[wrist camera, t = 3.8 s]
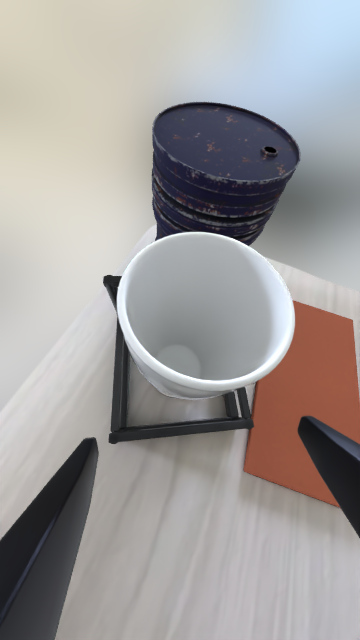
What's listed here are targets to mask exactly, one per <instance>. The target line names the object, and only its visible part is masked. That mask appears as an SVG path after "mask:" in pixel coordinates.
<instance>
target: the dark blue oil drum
mask: <svg viewBox="0 0 360 640" xmlns="http://www.w3.org/2000/svg"><path fill="white" fill-rule="evenodd" d="M152 130H153V131H152V132H153V148H154V152H153V169H152V191H153V202H152V205H153V210H154V215H155V219H156V221H157V237H156V239H155V241H157V240H159V239H161V238H164V237H167V236H170V235H174V234H178V233H185V232H207V233H214V234H219V235H223V236H226V237H229V238H232V239H235V240H237V241H239V242H241V243H243V244H245V245H247V246H249V245H250V244H252V243H253V242H254V241H255V240H256V238H257V237H258V236H259V235H260V234H261V232H262V231H263V229H264V226H265V224H266V222H267V221H268V220H269V218H270V216H271V215H272V213H273V211H274V209H275V208H276V206H277V203H278V201H279V198H280V196H281V194H282V192H283V190H284V188H285V186H286V183H287V182H288V181H289V180H290V178H291V177H292V175H293V173H294V171H295V170H296V168H297V166H298V164H299V161H300V156H301V153H300V149H299V146H298V144H297V143H296V141H295V140H294V138H293V137H292V136H291V135H290V134H289V133H288V132H287V131H286V130H285V129H283V128H282V127H281V126H280V125H278V124H276V123H275V122H273V121H272V120H270V119H268V118H266V117H264V116H261V115H259V114H257V113H255V112H252V111H249V110H246V109H243V108H239V107H236V106H231V105H227V104H221V103H212V102H191V103H183V104H178V105H175V106H172V107H169V108H167V109H165V110H164V111H162V112H161V113H159V115H158V116H157V117H156V118H155V120H154V122H153V129H152Z"/></svg>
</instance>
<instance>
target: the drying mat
mask: <svg viewBox="0 0 360 640" xmlns="http://www.w3.org/2000/svg"><path fill="white" fill-rule="evenodd" d="M292 301H293V300H292ZM293 306H294V312H295V329H294V335H293V339H292V342H291V344H290V347H289V349H288V351H287V353H286V355H285V356H284V358H283V359H282V361H281V362H280V363H279V364H278V365H277V366H276V368H275V369H273V370H272V371H271V372H270V373H269V374H268V375H266V376H265V377H263V378H262V379H260V380H258V381H257V382H256V389H255V395H254V402H253V409H252V416H251V419H253V422H254V428H252V429H250V430H249V437H248V444H247V451H246V458H245V464H244V471H245V472H247V473H249V474H252V475H255V476H257V477H260V478H263V479H265V480H268V481H271V482H273V483H276V484H279V485H281V486H284V487H287V488H289V489H292V490H295V491H297V492H300V493H303V494H305V495H308V496H310V497H313V498H316V499H318V500H321V501H324V502H326V503H329V504H332V505H334V506H337V507H340V506H339V504H338V503H337V501H336V500H335V498H334V496H333V495H332V493H331V492H330V490H329V489H328V487H327V485H326V484H325V482H324V481H323V479H322V477H321V476H320V474H319V472H318V471H317V469H316V467H315V465H314V463H313V461H312V460H311V458H310V456H309V454H308V452H307V450H306V448H305V446H304V444H303V442H302V441H301V439H300V437H299V435H298V431H297V429H298V425H299V422H300V419H301V417H302V416H308V415H310V416H313V417H315V418H316V419H318V420H320V421H321V422H323V423H325V424H327V425H328V426H330V427H332V428H333V429H335V430H337V431H338V432H340V433H342V434H343V435H345V436H347V437H349V438H350V439H352V440H354V441H355V442H357V443H359V444H360V400H359V389H358V377H357V365H356V353H355V342H354V330H353V320H351V319H348V318H345V317H342V316H339V315H336V314H333V313H330V312H327V311H324V310H321V309H318V308H315V307H312V306H309V305H306V304H302V303H299V302H296V301H293Z"/></svg>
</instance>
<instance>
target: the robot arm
mask: <svg viewBox="0 0 360 640" xmlns="http://www.w3.org/2000/svg"><path fill="white" fill-rule="evenodd" d="M297 431H298V435H299V437H300V439H301V441H302V442H303V444H304V446H305V448H306V450H307V452H308V454H309V456H310V458H311V460H312V461H313V463H314V465H315V467H316V469H317V471H318V472H319V474H320V476H321V477H322V479H323V481H324V482H325V484H326V485H327V487H328V489H329V490H330V492H331V493H332V495H333V496H334V498H335V500H336V501H337V503H338V504H339V506H340V508H341V509H342V511H343V512H344V514H345V515H346V517H347V519H348V520H349V522H350V523H351V525H352V527H353V528H354V530H355V531H356V533H357V534H358V536H359V538H360V444H359V443H357V442H355V441H354V440H352V439H350V438H349V437H347V436H345V435H343V434H342V433H340V432H338V431H337V430H335V429H333V428H332V427H330V426H328V425H327V424H325V423H323V422H321V421H320V420H318V419H316V418H315V417H313V416H310V415H308V416H302V417H301V419H300V422H299V425H298V429H297ZM98 455H99V452H98V446H97V441H96V438H94V437H93V438H85V439H84V440H83V441H82V442H81V443H80V444H79V446H78V447H77V448H76V449H75V451H74V452H73V453H72V454H71V455H70V457H69V458H68V459H67V460H66V461H65V463H64V464H63V465H62V466H61V467H60V469H59V470H58V471H57V472H56V474H55V475H54V476H53V477H52V478H51V480H50V481H49V482H48V483H47V484H46V486H45V487H44V488H43V489H42V491H41V492H40V493H39V494H38V495H37V497H36V498H35V499H34V500H33V501H32V503H31V504H30V505H29V506H28V507H27V509H26V510H25V511H24V512H23V514H22V515H21V516H20V517H19V518H18V520H17V521H16V522H15V523H14V524H13V526H12V527H11V528H10V529H9V530H8V532H7V533H6V534H5V535H4V537H3V538H2V539H1V540H0V640H54V639H55V636H56V632H57V628H58V624H59V620H60V617H61V613H62V609H63V605H64V602H65V598H66V594H67V590H68V587H69V583H70V579H71V575H72V572H73V568H74V564H75V560H76V557H77V553H78V549H79V545H80V542H81V538H82V534H83V530H84V527H85V523H86V519H87V515H88V511H89V507H90V502H91V497H92V491H93V485H94V480H95V474H96V468H97V462H98Z"/></svg>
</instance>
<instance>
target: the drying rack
mask: <svg viewBox="0 0 360 640" xmlns="http://www.w3.org/2000/svg"><path fill="white" fill-rule="evenodd" d="M121 278H122V276H112V275H107V276H104V279H103V283H104V286H105V287H106V288H107V291H108V293H109V296H110V298H111V300H112V303H113V305H114V307H115V310H116V312H117V292H118V287H119V283H120V280H121ZM129 362H130V352H129V350H128V347H127V344H126V342H125V339H124V336H123V332H122V329H121V326H120V323H119V318H118V313H117V332H116V349H115V366H114V383H113V400H112V417H111V432H112V433H110V434H109V443H111V444H116V443H118V442H122V441H132V440H141V439H151V438H160V437H169V436H179V435H188V434H197V433H207V432H216V431H226V430H235V429H244V428H245V429H252V428H254V422H253V419H250V418H251V414H250V409H249V404H248V400H247V395H246V390H245V387H243V388H240V389H238V390H237V394H238V400H239V405H240V410H241V415H242V418H241V417H238V410H237V405H236V399H235V394H234V391H233V392H230V393H227V394H225V395H224V398H225V404H226V410H227V416H228V417H225V418H215V419H205V420H194V421H184V422H174V423H164V424H154V425H143V426H133V427H128V398H129ZM113 431H114V432H113Z"/></svg>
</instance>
